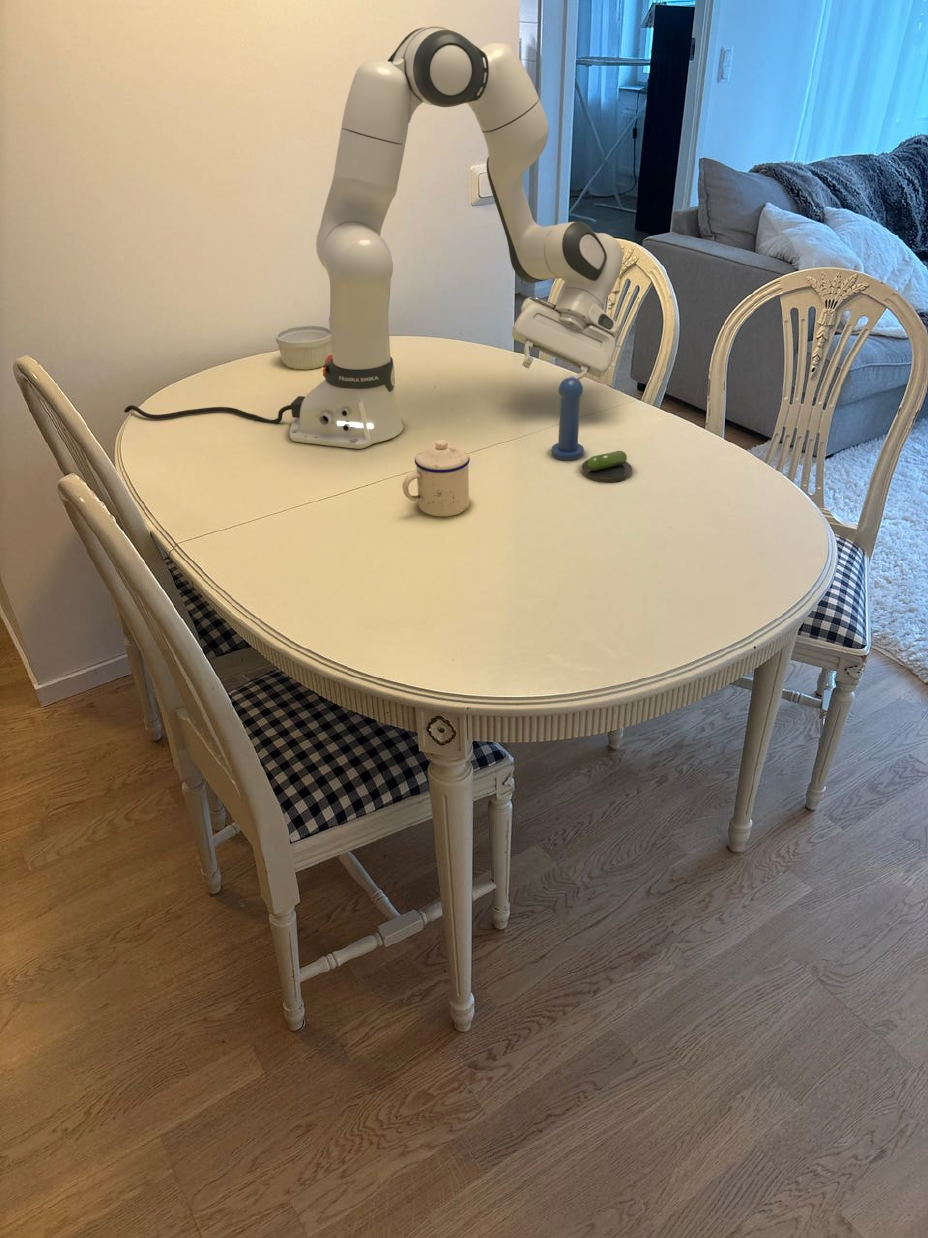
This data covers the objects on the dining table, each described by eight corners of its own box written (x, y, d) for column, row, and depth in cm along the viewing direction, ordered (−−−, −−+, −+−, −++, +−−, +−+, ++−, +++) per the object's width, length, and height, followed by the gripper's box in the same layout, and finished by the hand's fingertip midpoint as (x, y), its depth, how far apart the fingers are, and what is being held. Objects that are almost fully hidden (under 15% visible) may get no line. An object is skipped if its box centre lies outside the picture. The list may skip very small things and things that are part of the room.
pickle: (597, 486, 160) (599, 468, 158) (572, 466, 167) (573, 449, 165) (641, 476, 163) (643, 458, 161) (614, 457, 170) (615, 440, 168)
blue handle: (551, 460, 169) (554, 383, 161) (551, 446, 174) (554, 371, 166) (583, 461, 169) (588, 384, 160) (583, 447, 174) (588, 372, 165)
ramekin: (271, 370, 212) (267, 340, 208) (289, 352, 223) (286, 323, 219) (326, 372, 210) (323, 342, 206) (342, 354, 221) (339, 325, 217)
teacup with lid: (453, 488, 160) (451, 426, 154) (480, 509, 154) (479, 444, 147) (392, 506, 156) (388, 442, 149) (418, 527, 149) (414, 462, 142)
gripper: (529, 284, 175) (500, 347, 173) (626, 329, 175) (598, 391, 173) (525, 300, 181) (497, 360, 180) (619, 342, 181) (592, 403, 180)
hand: (547, 376), depth 177 cm, fingers open, 8 cm apart
